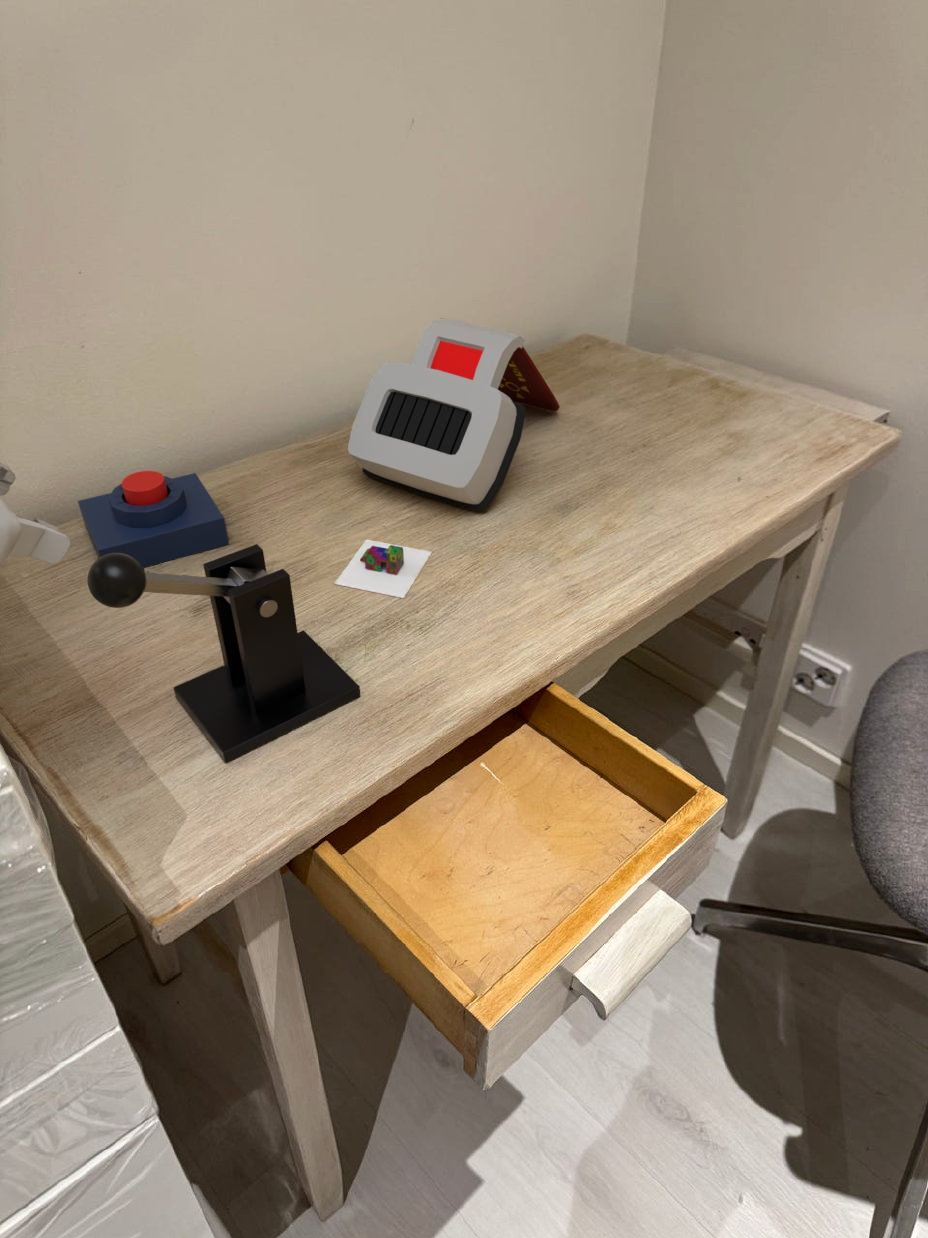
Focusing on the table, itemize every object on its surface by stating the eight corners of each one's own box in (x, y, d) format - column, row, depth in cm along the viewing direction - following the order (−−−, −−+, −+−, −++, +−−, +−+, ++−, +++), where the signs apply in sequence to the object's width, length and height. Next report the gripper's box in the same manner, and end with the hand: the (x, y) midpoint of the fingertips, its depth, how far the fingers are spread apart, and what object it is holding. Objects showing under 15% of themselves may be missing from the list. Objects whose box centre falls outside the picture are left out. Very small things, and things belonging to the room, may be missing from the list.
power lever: (93, 616, 57) (107, 566, 55) (73, 589, 59) (86, 540, 58) (269, 623, 66) (285, 580, 65) (247, 599, 68) (261, 557, 67)
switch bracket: (225, 764, 67) (195, 632, 59) (175, 697, 72) (141, 569, 64) (360, 696, 73) (349, 568, 65) (305, 640, 78) (288, 515, 70)
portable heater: (396, 287, 95) (540, 318, 89) (475, 384, 118) (594, 414, 112) (329, 456, 95) (469, 500, 88) (422, 520, 118) (538, 558, 111)
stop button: (130, 510, 86) (126, 495, 85) (121, 491, 88) (117, 476, 87) (172, 500, 87) (169, 484, 86) (162, 482, 90) (158, 466, 89)
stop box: (106, 577, 85) (93, 533, 82) (85, 527, 92) (72, 485, 89) (229, 544, 90) (221, 501, 86) (200, 498, 96) (192, 457, 93)
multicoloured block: (407, 558, 88) (406, 538, 86) (396, 574, 86) (395, 554, 84) (367, 550, 89) (366, 530, 87) (356, 566, 87) (354, 546, 85)
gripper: (-162, 427, 36) (130, 544, 47) (-239, 291, 48) (6, 409, 59) (-237, 558, 36) (68, 644, 47) (-294, 391, 49) (-42, 490, 60)
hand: (33, 512), depth 53 cm, fingers open, 8 cm apart
